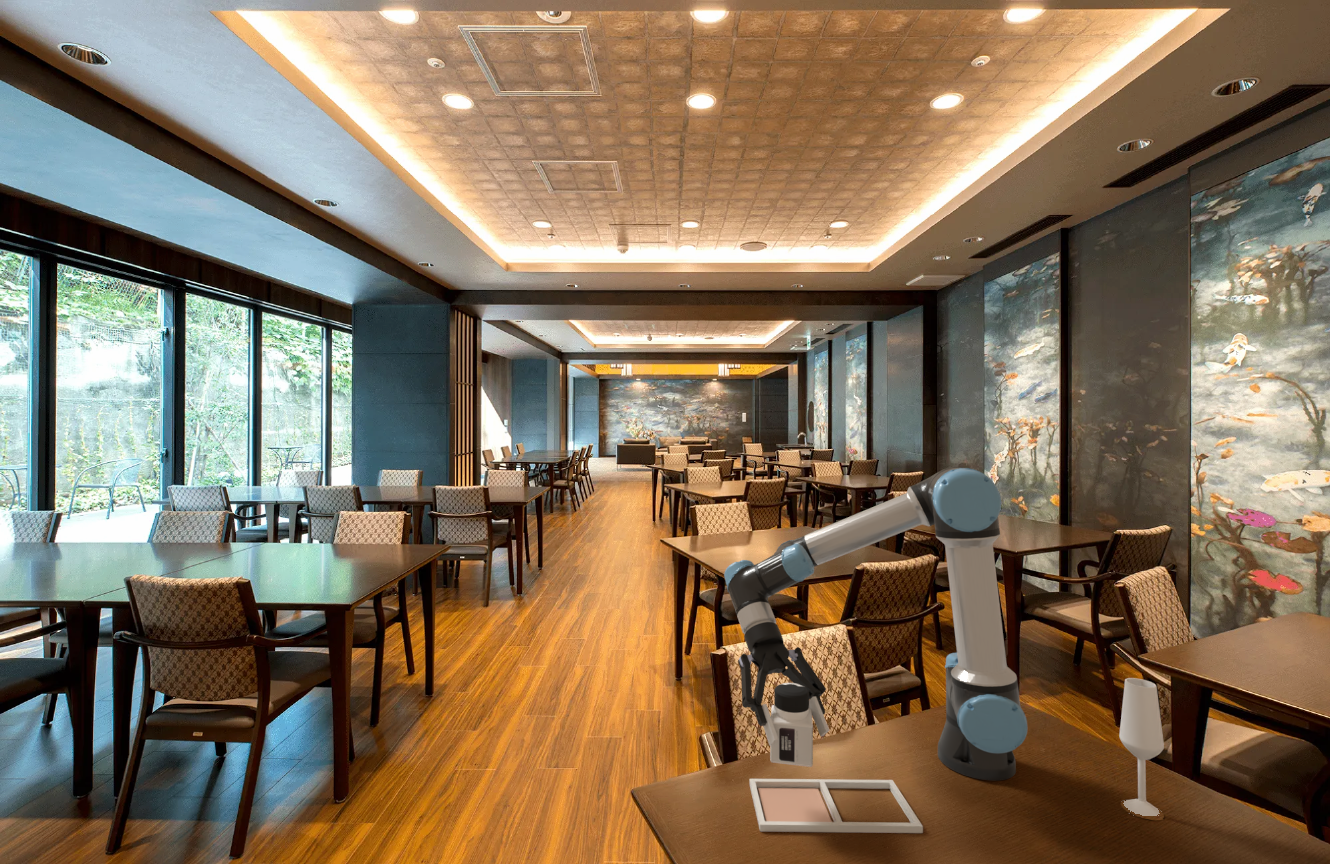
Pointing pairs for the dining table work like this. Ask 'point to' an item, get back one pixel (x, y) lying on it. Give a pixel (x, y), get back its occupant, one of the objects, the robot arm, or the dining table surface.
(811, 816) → the bay frame
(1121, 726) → the champagne flute
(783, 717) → the container
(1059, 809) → the dining table surface
